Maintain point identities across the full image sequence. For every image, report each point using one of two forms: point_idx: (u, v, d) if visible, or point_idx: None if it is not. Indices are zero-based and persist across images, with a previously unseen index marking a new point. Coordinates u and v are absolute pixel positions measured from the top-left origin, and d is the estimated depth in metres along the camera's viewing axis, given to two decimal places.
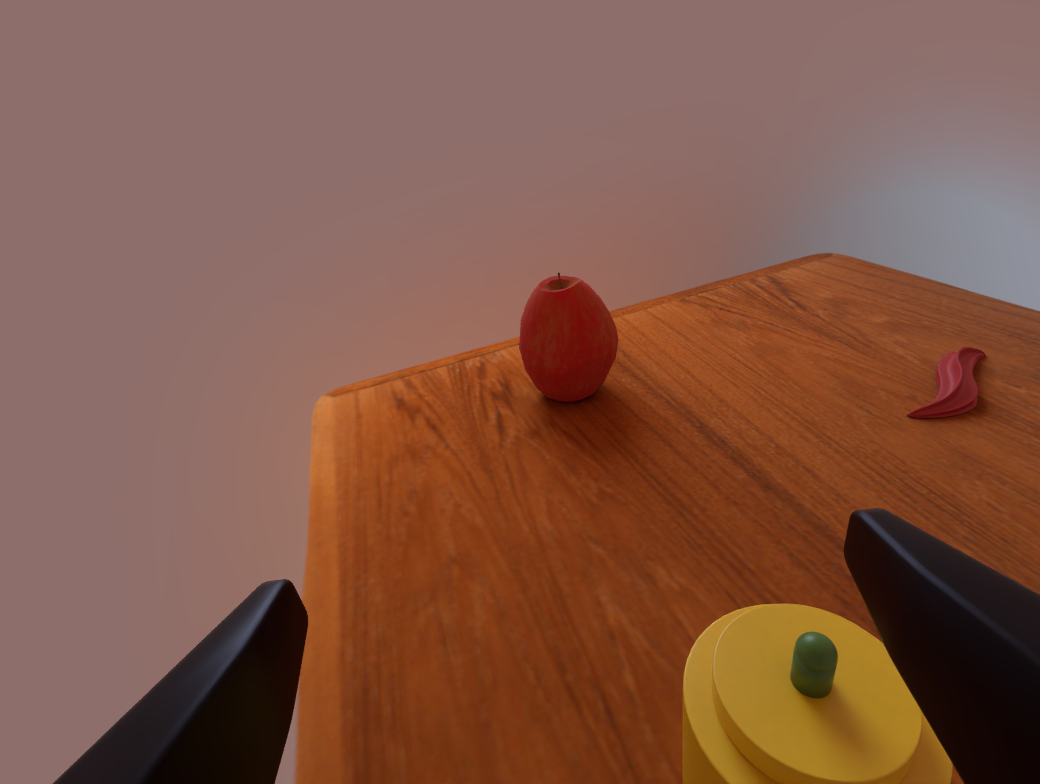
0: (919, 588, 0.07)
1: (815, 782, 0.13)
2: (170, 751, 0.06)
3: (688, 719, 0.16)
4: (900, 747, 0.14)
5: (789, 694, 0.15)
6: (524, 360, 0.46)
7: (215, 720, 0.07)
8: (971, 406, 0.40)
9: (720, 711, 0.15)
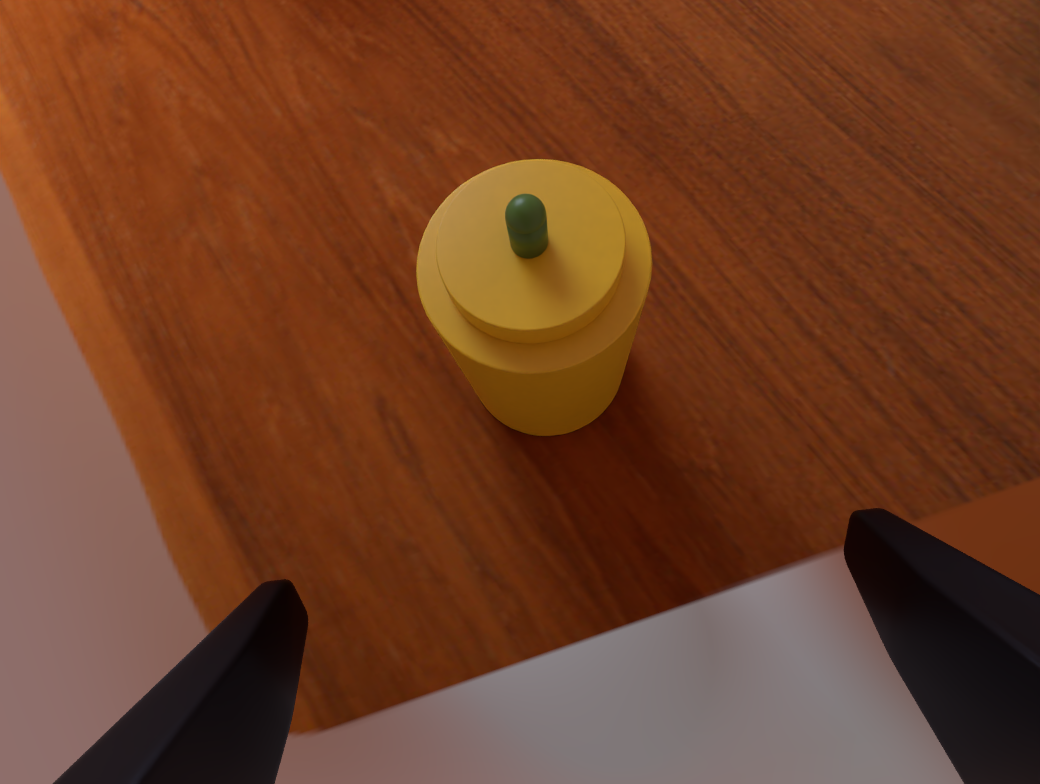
0: (919, 588, 0.07)
1: (524, 333, 0.14)
2: (170, 751, 0.06)
3: (422, 303, 0.16)
4: (600, 286, 0.14)
5: (507, 260, 0.15)
6: None
7: (215, 720, 0.07)
8: None
9: (446, 290, 0.15)
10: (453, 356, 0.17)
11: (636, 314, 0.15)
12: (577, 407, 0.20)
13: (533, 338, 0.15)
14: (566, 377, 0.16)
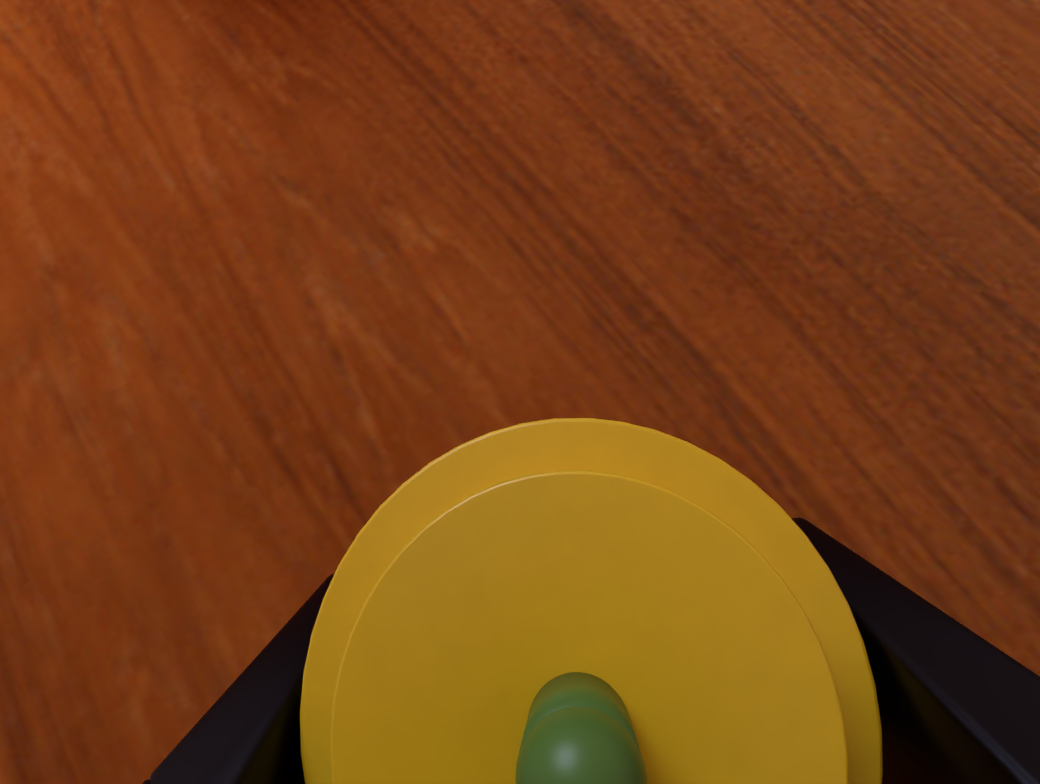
0: None
1: None
2: (266, 741, 0.06)
3: None
4: None
5: None
6: None
7: None
8: None
9: None
10: None
11: None
12: None
13: None
14: None
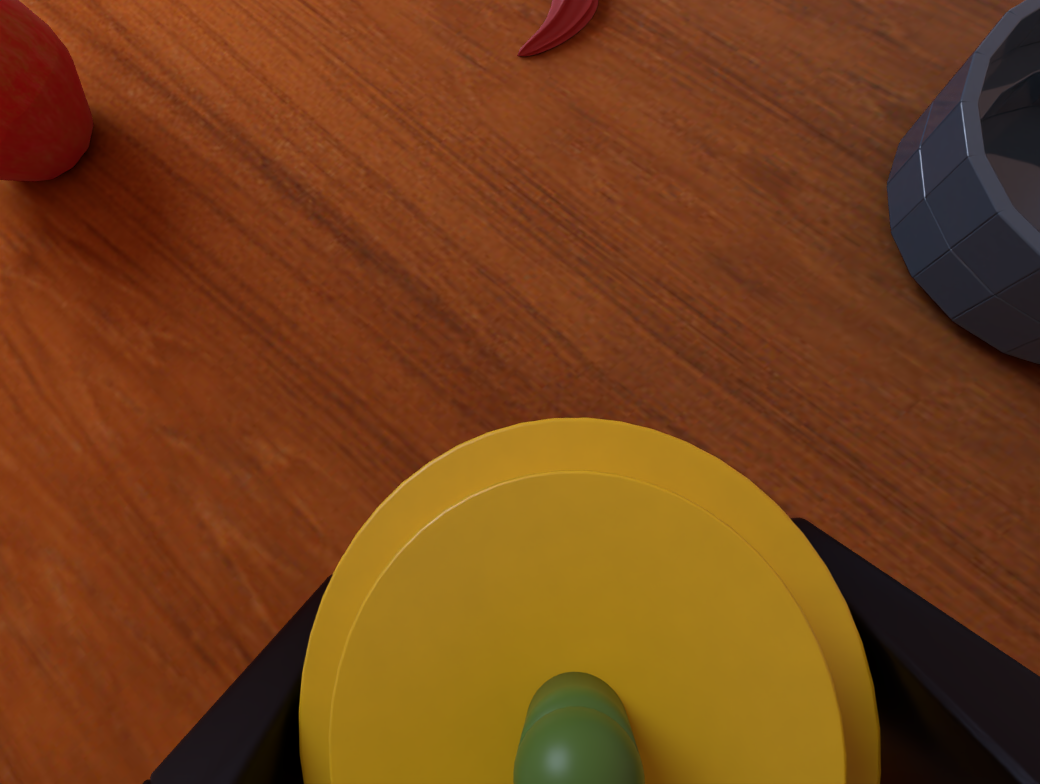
0: None
1: None
2: (266, 741, 0.06)
3: None
4: None
5: None
6: None
7: None
8: (590, 14, 0.29)
9: None
10: None
11: None
12: None
13: None
14: None
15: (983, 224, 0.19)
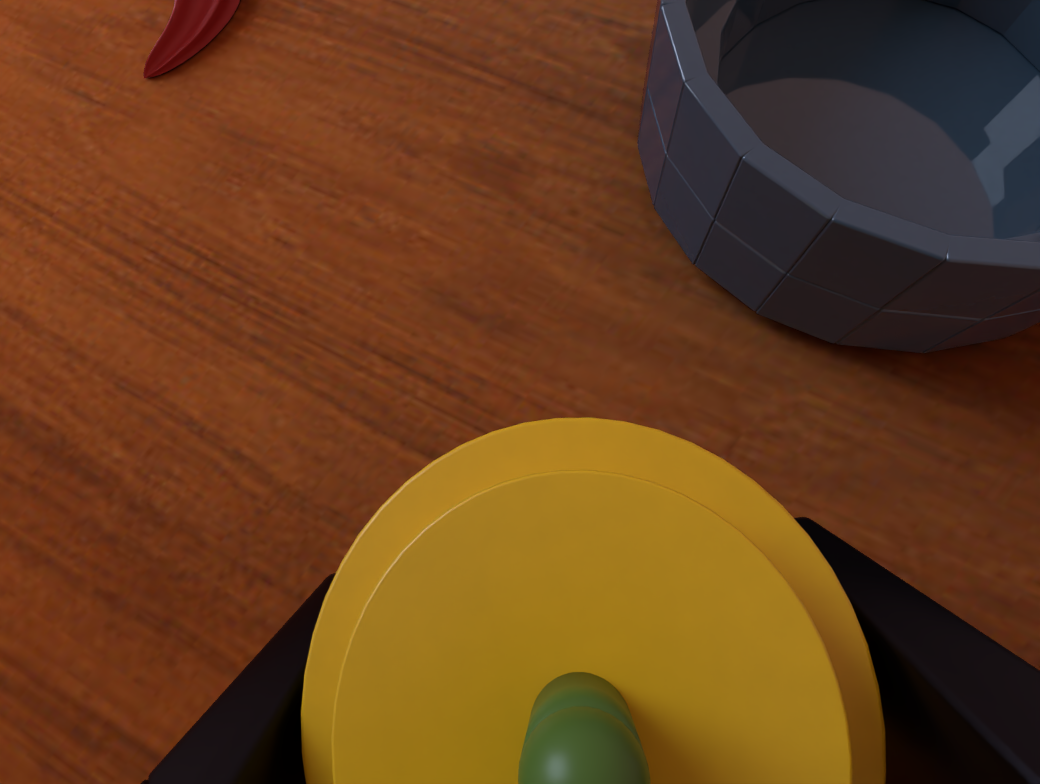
0: None
1: None
2: (265, 741, 0.06)
3: None
4: None
5: None
6: None
7: (300, 711, 0.07)
8: (232, 5, 0.21)
9: None
10: None
11: None
12: None
13: None
14: None
15: (733, 178, 0.13)
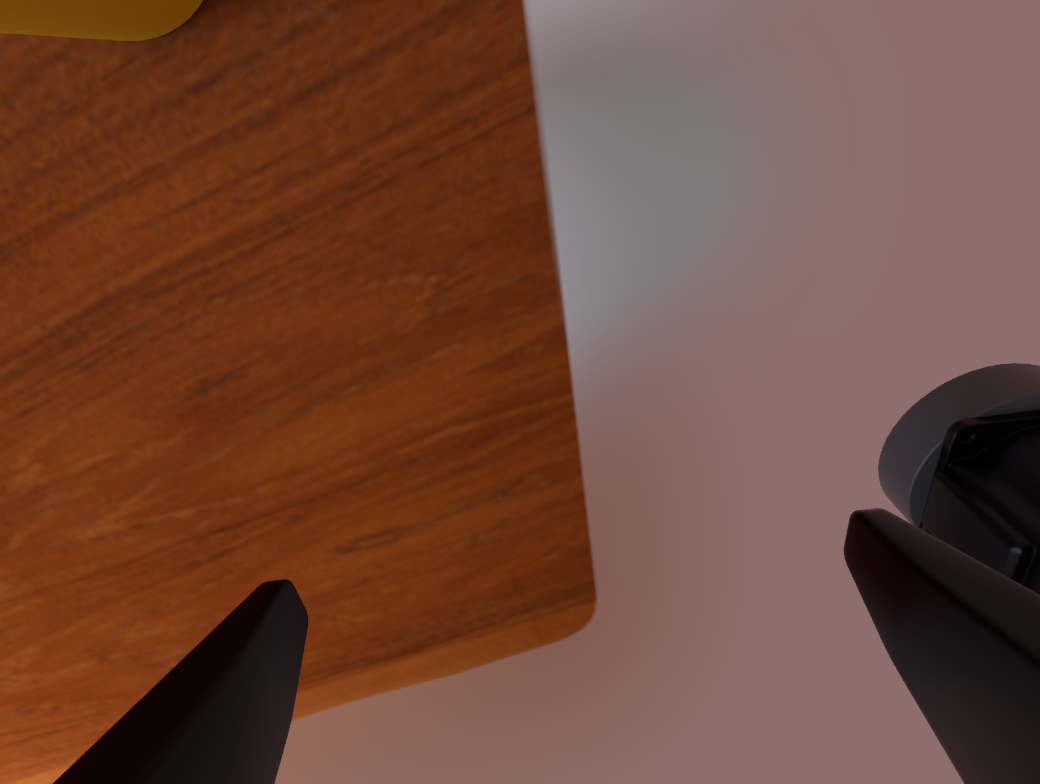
0: (919, 588, 0.07)
1: None
2: (170, 751, 0.06)
3: None
4: None
5: None
6: None
7: (215, 720, 0.07)
8: None
9: None
10: None
11: None
12: None
13: None
14: None
15: None
